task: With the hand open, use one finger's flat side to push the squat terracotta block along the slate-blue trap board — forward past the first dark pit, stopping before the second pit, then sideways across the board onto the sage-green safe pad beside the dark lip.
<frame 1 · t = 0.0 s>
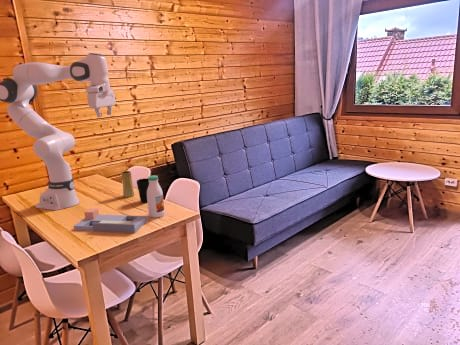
hand: (104, 116, 180), 48 cm above the table, fingers open, 8 cm apart
block: (92, 217, 173), point 2 cm above the table, touching board
cup: (146, 201, 198), on the table
board: (112, 224, 168), on the table
milk bottle: (157, 215, 177), on the table
vase: (129, 196, 208), on the table
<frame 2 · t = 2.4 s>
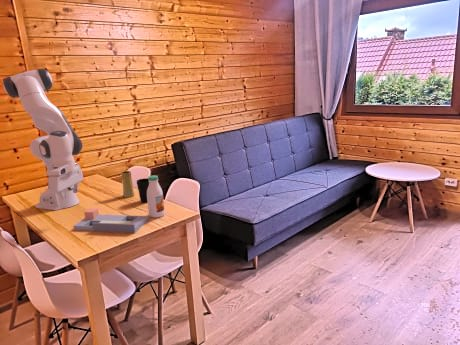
hand: (69, 195, 167), 14 cm above the table, fingers open, 8 cm apart
nothing on the table moved.
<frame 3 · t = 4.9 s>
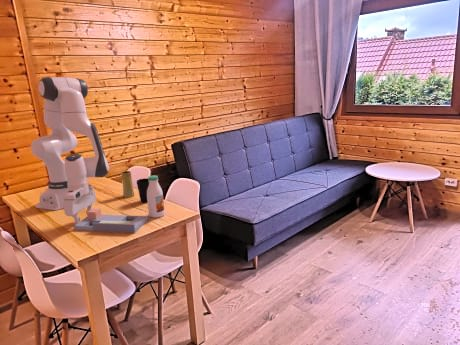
hand: (83, 217, 169), 3 cm above the table, fingers open, 8 cm apart
block: (94, 217, 172), point 2 cm above the table, touching board
everything else where it was.
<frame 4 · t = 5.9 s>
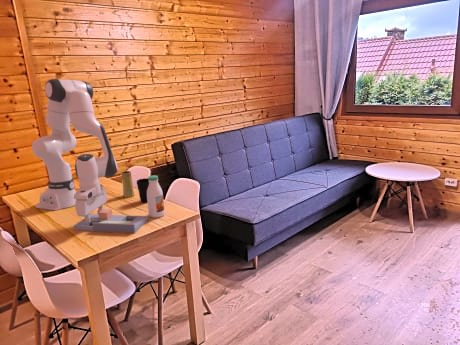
hand: (94, 217, 168), 3 cm above the table, fingers open, 8 cm apart
block: (105, 217, 171), point 2 cm above the table, touching gripper
everything else where it was.
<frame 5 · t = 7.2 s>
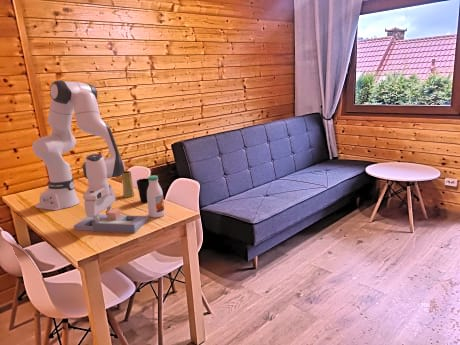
hand: (103, 218, 167), 3 cm above the table, fingers open, 8 cm apart
block: (114, 217, 170), point 2 cm above the table, touching board, gripper
everything else where it was.
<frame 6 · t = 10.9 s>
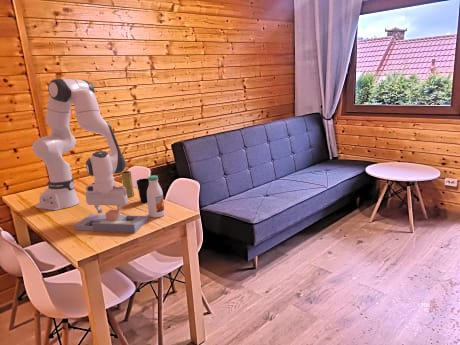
hand: (109, 213, 173), 3 cm above the table, fingers open, 8 cm apart
nothing on the table moved.
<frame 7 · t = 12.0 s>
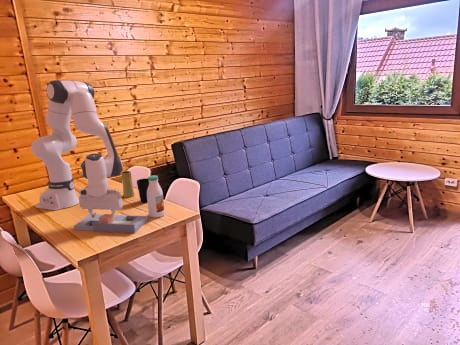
hand: (103, 217, 168), 3 cm above the table, fingers open, 8 cm apart
block: (107, 223, 165), point 2 cm above the table, touching board, gripper
everything else where it was.
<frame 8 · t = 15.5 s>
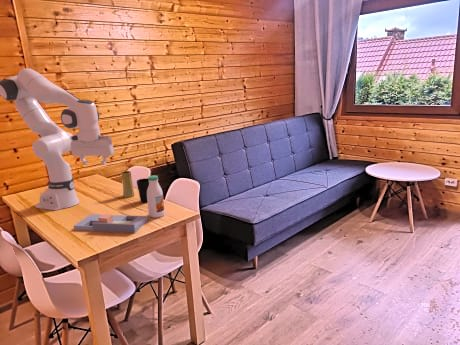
hand: (94, 164, 169), 27 cm above the table, fingers open, 8 cm apart
block: (106, 223, 164), point 2 cm above the table, touching board
everything else where it was.
at the end: block inside the target area on the board (3.1 cm from its centre), point 2.0 cm above the board's base; block tilted 0° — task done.
